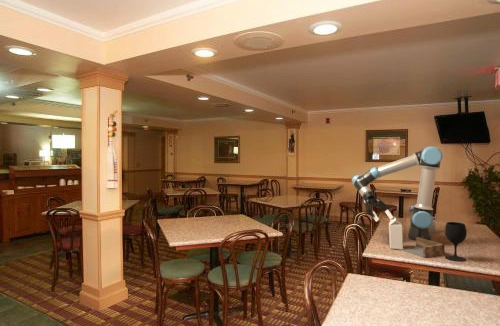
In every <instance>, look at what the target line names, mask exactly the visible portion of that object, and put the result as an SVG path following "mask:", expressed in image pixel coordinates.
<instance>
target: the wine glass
mask: <svg viewBox="0 0 500 326" xmlns="http://www.w3.org/2000/svg"><path fill="white" fill-rule="evenodd" d="M444 234H445V237H446V238H447V240H448V241H449V242H450V243H452V244H453V246H454V247H453V248H454V249H453V250H454V254H453V255H452V254H450V255H449V254H448V255H444V258H445V259H447V260H450V261H451V262H453V261H454V262H458V263H459V262H462V263H463V262H466V261H467V258H465V256H464V257H463V256H460V255H458V254H457V248H458V245H459V244H461V243H463V242H464V241H465V240H466V237H467V226H466V224H465V223H463V222H456V221H448V222H446V224H445V227H444Z"/></svg>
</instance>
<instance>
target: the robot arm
mask: <svg viewBox="0 0 500 326" xmlns="http://www.w3.org/2000/svg"><path fill="white" fill-rule="evenodd" d="M443 158H444V157H443V152H442V150H441V148H439V147H436V146H427V147H424V148H422V149H421V150H418V151H415V152H414V153H413V154H412V155H409V156H406V157H404V158H400V159H398V160H395V161H392V162H389V163H386V164H383V165H380V166H374V167H372V168H370V169H369V170H367V171H366V172H365V173H364V174H362V175H360V174H356V175H354V176H353V177H352V179H351V183H352V185H353V186H354V187H355V189H356V190H357V191H358V193H359V194H360V196H361V197H362V199H363V202H362V203H363V204H364V208H365V213H367V214H368V215H370V216H371V217H372V218H373V220H374V221H375V222H376V223H377V222H378V221H379V220H380V218H379V217H378V215H377V213H376V212H375V211H374V210H373V206H374V207H378V208H380V209H381V210H382V211H384V212H385V214H386V215H387V217H388V218H389V221H390V220H394V219H395V216H393V214H392V213H391V211H390V209H391V208H390V206H388V205H387V204H386V203H385V202H384V201H382V199H381V198H380V197H378V198H376V196H375V195H376V194H375V193H374V192H373V191H372V189H371V188H370V186H369V184H371V183H372V182H374V181H375V180H377V179H379V178H381V177H385V176H388V175H391V174H394V173H397V172H400V171H403V170H407V169H410V168H412V167H415V166H419V167H420V168H421V171H420V178H419V186H418V191H417V192H418V194H417V198H416V204H415V205H410V208H409V212H410V217H409V219H410V220H409V221H410V226H409V230H408V233H407V238H408V239H409V240H413V241H416V237H418V238H422V239H426V240H430V241H433V240H432V239H433V237H432V234H431V233H430V230H429V227H430V226H431V224H432V222H433V218H432V217H433V213H434V208H433V207H432V202H433V196H434V189H435V184H436V176H437V170H439V169H440V168H441V161H442V160H443Z"/></svg>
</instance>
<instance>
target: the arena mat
mask: <svg viewBox="0 0 500 326" xmlns="http://www.w3.org/2000/svg"><path fill="white" fill-rule="evenodd" d="M399 250H400V251H403V252H407V253H410V254H412V255H415V256H419V257H421V258H424V257H423V248H420V247H416V246H413V247H406V248H403V249H399Z"/></svg>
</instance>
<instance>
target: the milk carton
mask: <svg viewBox="0 0 500 326" xmlns="http://www.w3.org/2000/svg"><path fill="white" fill-rule="evenodd" d="M388 235H389V236H388V237H389V239H388V240H389V248H390V249H393V250H394V249H395V250H400V249H404V246H403V244H404V242H403V224H402V223H401V222H400V221H399V220H397V218H396V217H394V218H393V219H392V220H390V219H389V223H388Z"/></svg>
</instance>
